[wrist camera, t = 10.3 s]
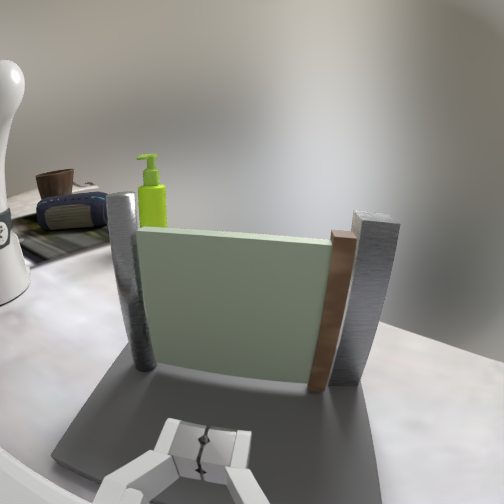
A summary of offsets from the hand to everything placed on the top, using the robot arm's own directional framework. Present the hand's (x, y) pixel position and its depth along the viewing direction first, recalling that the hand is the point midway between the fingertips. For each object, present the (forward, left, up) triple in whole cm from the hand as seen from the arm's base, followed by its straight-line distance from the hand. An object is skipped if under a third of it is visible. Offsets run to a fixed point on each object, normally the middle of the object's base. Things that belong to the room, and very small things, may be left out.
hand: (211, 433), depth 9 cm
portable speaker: (-58, +61, -13) cm, 85 cm away
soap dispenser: (-26, +50, -13) cm, 57 cm away
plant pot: (-77, +73, -13) cm, 107 cm away
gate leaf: (-1, +14, -11) cm, 17 cm away
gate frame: (-2, +10, -12) cm, 16 cm away
